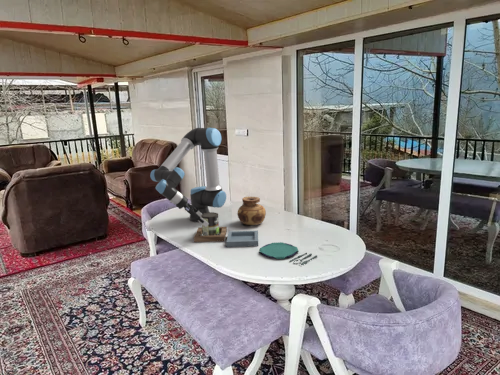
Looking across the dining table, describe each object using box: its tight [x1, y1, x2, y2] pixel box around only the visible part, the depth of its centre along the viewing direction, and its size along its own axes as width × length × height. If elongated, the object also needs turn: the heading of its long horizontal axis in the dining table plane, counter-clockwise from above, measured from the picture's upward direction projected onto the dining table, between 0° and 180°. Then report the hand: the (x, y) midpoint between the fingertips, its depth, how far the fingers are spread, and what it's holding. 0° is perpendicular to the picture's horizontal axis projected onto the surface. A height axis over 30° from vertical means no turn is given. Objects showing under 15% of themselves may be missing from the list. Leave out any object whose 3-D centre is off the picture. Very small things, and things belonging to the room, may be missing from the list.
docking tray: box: [226, 230, 259, 248], centre depth 218 cm, size 18×18×3 cm
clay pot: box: [237, 196, 267, 226], centre depth 247 cm, size 19×19×20 cm
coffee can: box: [201, 211, 220, 236], centre depth 226 cm, size 10×10×14 cm
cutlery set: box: [258, 241, 318, 266], centre depth 196 cm, size 20×30×2 cm, turn 45°
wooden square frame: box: [193, 226, 228, 243], centre depth 227 cm, size 18×18×3 cm
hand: (206, 222), depth 224 cm, fingers open, 13 cm apart
